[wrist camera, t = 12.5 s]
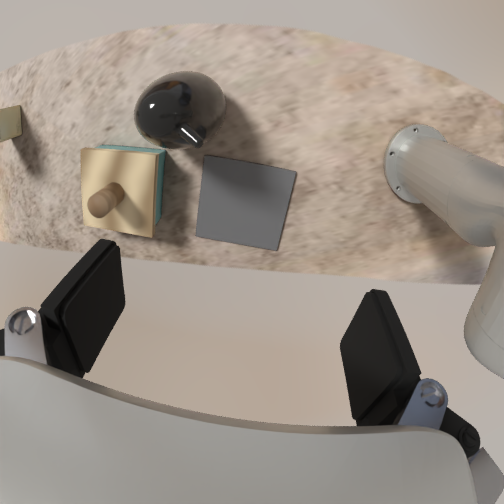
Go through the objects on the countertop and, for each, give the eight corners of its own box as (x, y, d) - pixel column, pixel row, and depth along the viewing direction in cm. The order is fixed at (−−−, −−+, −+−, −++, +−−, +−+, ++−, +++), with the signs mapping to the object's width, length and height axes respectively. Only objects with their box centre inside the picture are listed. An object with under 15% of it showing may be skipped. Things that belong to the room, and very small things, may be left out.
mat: (295, 171, 39) (296, 172, 39) (276, 249, 46) (276, 250, 46) (205, 155, 39) (204, 155, 38) (196, 234, 45) (195, 236, 45)
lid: (159, 153, 34) (140, 164, 29) (155, 233, 40) (139, 255, 35) (85, 147, 34) (59, 158, 28) (87, 221, 40) (67, 240, 34)
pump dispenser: (201, 157, 39) (168, 190, 26) (146, 118, 36) (89, 133, 23) (246, 101, 35) (234, 102, 22) (187, 61, 32) (143, 43, 19)
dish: (165, 149, 38) (154, 156, 35) (161, 217, 44) (151, 230, 40) (102, 144, 38) (87, 150, 34) (102, 208, 43) (89, 219, 40)
